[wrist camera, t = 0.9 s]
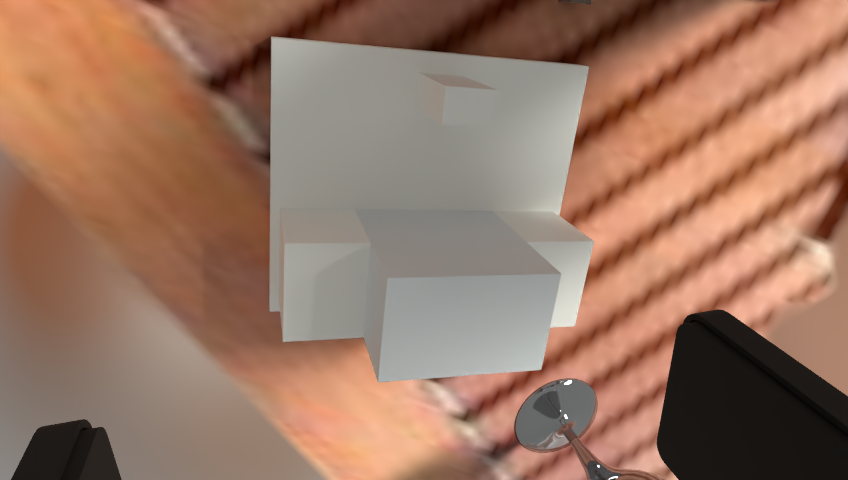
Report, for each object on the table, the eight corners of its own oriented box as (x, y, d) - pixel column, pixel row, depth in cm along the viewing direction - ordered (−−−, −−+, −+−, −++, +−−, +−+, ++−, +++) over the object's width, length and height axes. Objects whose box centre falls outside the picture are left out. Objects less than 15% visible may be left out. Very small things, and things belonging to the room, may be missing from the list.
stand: (535, 294, 41) (615, 379, 32) (269, 303, 35) (275, 408, 27) (580, 64, 35) (692, 90, 26) (271, 36, 30) (280, 56, 21)
